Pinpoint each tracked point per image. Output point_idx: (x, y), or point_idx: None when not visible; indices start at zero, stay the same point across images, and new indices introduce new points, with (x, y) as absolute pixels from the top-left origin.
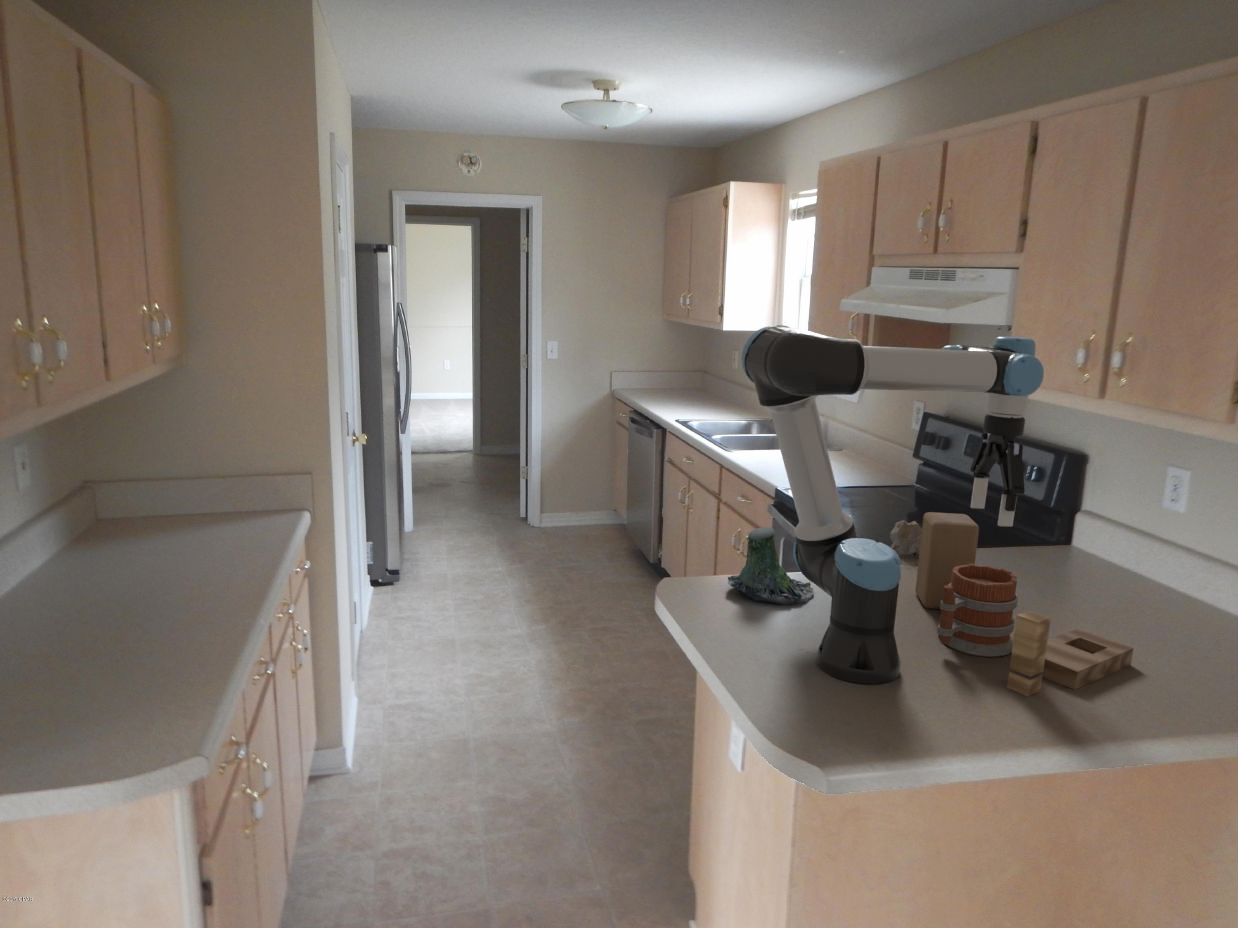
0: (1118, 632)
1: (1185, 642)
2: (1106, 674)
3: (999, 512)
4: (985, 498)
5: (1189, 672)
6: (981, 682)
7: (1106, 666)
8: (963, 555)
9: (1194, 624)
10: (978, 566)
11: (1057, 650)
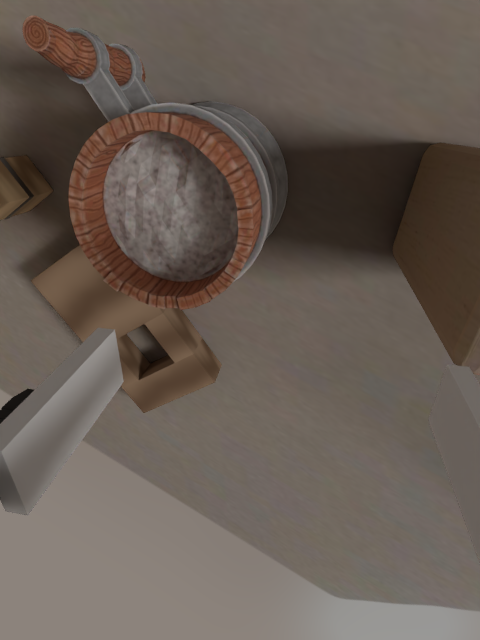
0: (273, 450)
1: (239, 501)
2: None
3: (78, 365)
4: (445, 464)
5: (143, 446)
6: (32, 110)
7: None
8: (435, 274)
9: (302, 547)
10: (238, 239)
11: (110, 295)
